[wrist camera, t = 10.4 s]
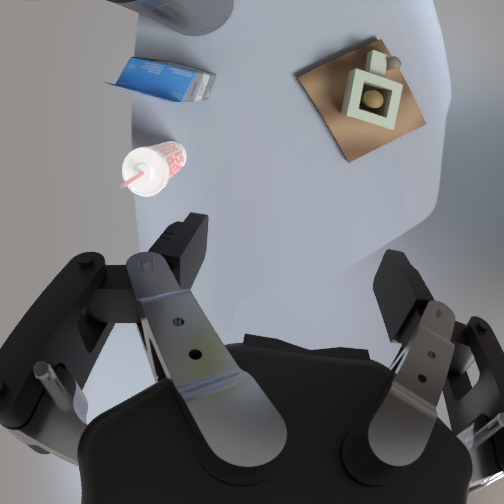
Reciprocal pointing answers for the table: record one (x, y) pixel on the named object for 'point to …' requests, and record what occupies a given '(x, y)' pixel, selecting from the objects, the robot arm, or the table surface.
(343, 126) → the locating plate
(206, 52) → the table surface
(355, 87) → the square ring with handle
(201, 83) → the label tape box
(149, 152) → the beverage cup
